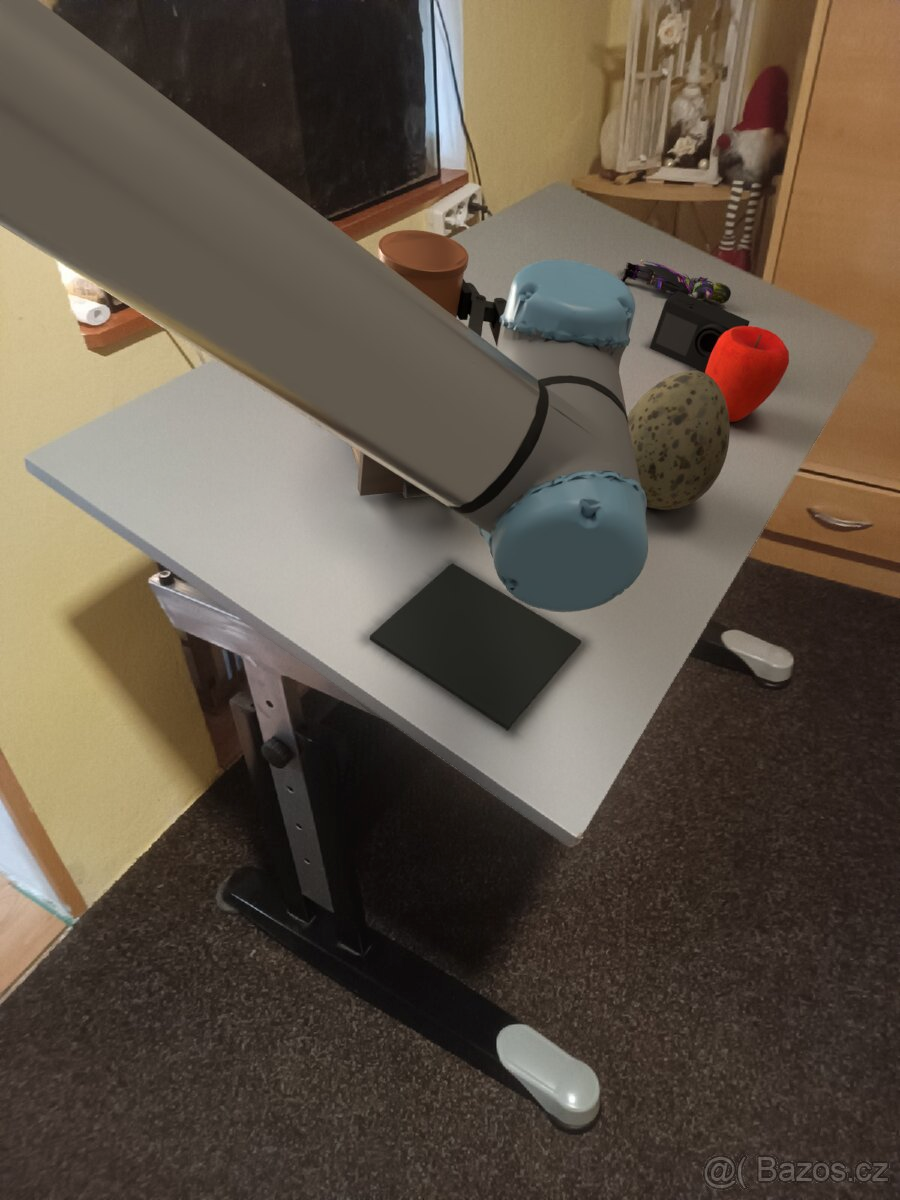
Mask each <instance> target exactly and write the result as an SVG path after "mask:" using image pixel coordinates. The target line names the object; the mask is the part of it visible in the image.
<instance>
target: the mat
mask: <svg viewBox="0 0 900 1200" xmlns="http://www.w3.org/2000/svg"><path fill="white" fill-rule="evenodd" d="M369 640H370V641H371V642H373V643H375V644H376V645H378V646H380V647H381V648H382V649H384V650H385V651H387V652H388V653H390V654H391V655H393V656H395V657H396V658H398V659H399V660H400V661H402V662H403V663H404V664H406V665H408V666H409V667H411V668H412V669H414V670H415V671H417V672H418V673H420V674H421V675H423V676H425V677H426V678H427V679H429V680H430V681H432V682H434V683H435V684H436V685H438V686H440V687H441V688H443V689H444V690H446V691H447V692H449V693H450V694H452V695H453V696H454V697H456V698H457V699H459V700H461V701H462V702H464V703H465V704H466V705H468V706H469V707H471V708H472V709H474V710H476V711H477V712H479V713H481V715H484V716H485V717H487V718H488V719H489V720H490V721H492V722H494V723H496V724H497V725H498V726H500V727H502V728H503V729H505V730H506V731H509V730H510V728H511V727H512V726H513V725H514V723H516V721H517V720H518V719H519V718H520V717H521V715H522V714H523V713H524V712H525V711H526V709H527V708H528V707H529V706H530V705H531V703H533V701H534V700H535V699H536V697H537V696H538V695H539V694H540V693H541V691H542V690H543V689H545V687H546V686H547V685H548V683H549V682H550V681H551V680H552V679H553V677H555V675H556V674H557V672H558V671H559V670H560V669H561V668H562V667H563V666H564V664H565V663H566V662H567V661H568V659H569V658H570V657H571V656H572V655H573V653H575V651H576V650H577V649H578V648H579V647H580V645H581V643H582V639H579V638H578V637H577V636H575V635H573V634H571V633H570V632H568V631H566V630H564V628H561V627H559V626H558V625H556V624H555V623H553V622H551V620H548V619H546V618H545V617H543V616H541V615H540V614H538V613H536V612H535V611H533V610H532V609H529V608H528V607H526V606H525V605H523V604H522V603H520V602H519V601H516V600H515V599H513V598H511V597H510V596H508V595H506V594H505V593H503V592H501V591H500V590H498V589H496V588H495V587H493V586H491V585H490V584H488V583H487V582H485V581H483V580H481V579H480V578H478V577H476V576H475V575H473V574H472V573H470V572H469V571H467V570H465V569H463V568H462V567H460V566H458V565H457V564H455V563H453V562H451V563H450V564H448V566H446V567H445V569H443V570H442V571H441V572H440V573H439V574H438V575H436V576H435V577H434V578H433V579H432V580H431V581H429V583H427V584H426V585H425V586H424V587H423V588H421V590H420V591H418V592H417V593H416V594H415V595H414V596H413V597H412V598H410V599H409V600H408V601H407V602H406V603H405V604H404V605H403V606H401V607H400V608H399V609H398V610H397V611H396V612H395V613H394V614H392V615H391V616H390V617H389V618H388V619H387V620H386V621H385V622H384V623H382V624H381V625H380V626H378V628H377V629H376V630H374V631H373V632H372V633H371V634H370V635H369Z"/></svg>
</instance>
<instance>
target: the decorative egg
mask: <svg viewBox="0 0 900 1200" xmlns="http://www.w3.org/2000/svg"><path fill="white" fill-rule="evenodd" d="M627 418H628V426H629V431H630V436H631V440H632V445H633V450H634V455H635V460H636V464H637V469H638V474H639V479H640V483H641V488H642V489H643V490H644V492H645V495H646V499H647V508H649V509H654V510H659V511H660V510H662V511H666V510H667V511H668V510H677V509H679V508H682V507H686V506H687V505H690V504H692V503H694V502H696V501H697V500H698V499H699V498H701V497H702V496H704V494H706V493H707V492H708V491H709V490H710V488H711V487H712V486H713V485H714V483H715V482H716V480H718V478H719V475H720V474H721V471H722V469H723V467H724V464H725V462H726V459H727V455H728V450H729V445H730V436H731V433H730V431H731V430H730V429H731V428H730V427H731V426H730V424H731V423H730V422H729V415H728V409H727V405H726V401H725V398H724V395H723V393H722V392H721V390H720V388H719V386H718V385H717V383H716V382H715V381H714V380H713V379H712V378H711V377H710V376H709V375H707V374H705V373H704V372H701V371H699V370H686V371H681V372H677V373H675V374H673V375H671V376H668V377H667V378H665V379H663V380H660V382H658V383H656V384H655V385H653V387H651V388H650V389H649V390H648V391H647V392H646V393H645V394H644V395H643V396H642V397H641V398H639V400H638V401H637V402H636V403H635V405H634V406H633V407H632V409H631V410H630V411H629V413H628V414H627Z"/></svg>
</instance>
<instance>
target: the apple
mask: <svg viewBox="0 0 900 1200" xmlns="http://www.w3.org/2000/svg"><path fill="white" fill-rule="evenodd" d="M789 364H790V352H789V350H788V348H787V346H786V345H785V343H784V341H783V340H782V339H781V337H779V336H778V335H777V334H775V333H774V332H772V331H770V330H769V329H765V328H762V327H758V326H751V325H748V326H739V327H734V328H732V329H730V330H728V331H725V332H724V333H723V334H722V335H721V336H720V338H719V339H718V341H717V343H716V345H715V347H714V349H713V351H712V353H711V355H710V358H709V361H708V364H707V368H706V371H705V374H707V375H709V376H710V377H711V378H712V379H713V380H714V381H715V382H716V383H717V385H718V386H719V388H720V390H721V392H722V393H723V395H724V398H725V401H726V405H727V409H728V415H729V423H731V422H733V423H734V422H739V421H740V420H741V421H742V420H743V419H744V418H746V417H747V416H748V415H750V414H751V413H753V412H754V411H755V410H757V409H758V408H759V407H760V406H761V405H762V404H763V403H764V402H765V401H766V400H767V399H768V398H769V397H770V396H771V395H772V393H773V392H774V391H775V389H776V388H777V387H778V386H779V384H780V383H781V380H782V379H783V377H784V375H785V373H786V371H787V369H788V366H789Z"/></svg>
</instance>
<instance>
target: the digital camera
mask: <svg viewBox="0 0 900 1200" xmlns="http://www.w3.org/2000/svg"><path fill="white" fill-rule="evenodd" d="M750 322H751V321H750V320H749V319H747V318H743V317H742V316H739V315H737V314H734V313H732V312H730V311H728V310H725V309H723V308H721V307H718V306H715V305H713V304H711V303H709V302H707V301H704V300H699V299H696V298H694V297H692V296H689V295H687V294H684V293H682V292H680V291H677V292H676V293H675V294H671V296H670V297H668V298H666V300H665V302H664V305H663V307H662V310H661V313H660V316H659V319H658V322H657V325H656V328H655V331H654V333H653V336H652V339H651V342H650V345H649V349H651V350H653V351H655V352H657V353H660V354H662V355H664V356H666V357H668V358H670V359H672V360H675V361H678V362H680V363H682V364H684V365H686V366H688V367H691V368H693V369H695V370H696V371H700V372H703V373H705V371H706V368H707V364H708V361H709V358H710V355H711V353H712V351H713V349H714V347H715V345H716V343H717V341H718V339H719V338H720V336H721V335H722V334H723V333H724V332H725V331H728V330H730V329H732V328H734V327H739V326H750V325H749V324H750Z"/></svg>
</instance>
